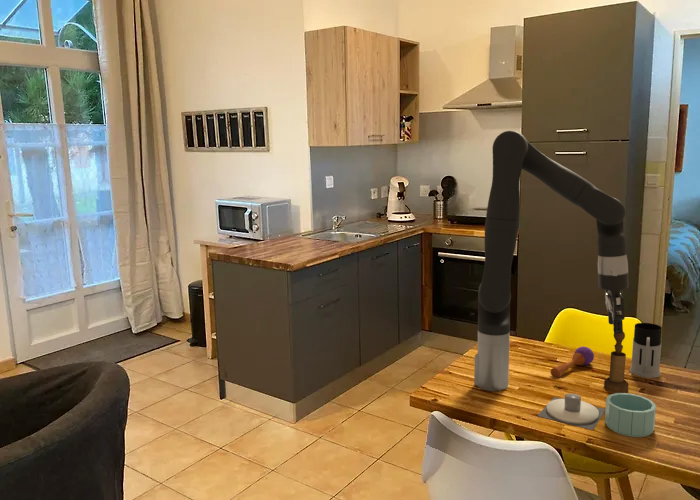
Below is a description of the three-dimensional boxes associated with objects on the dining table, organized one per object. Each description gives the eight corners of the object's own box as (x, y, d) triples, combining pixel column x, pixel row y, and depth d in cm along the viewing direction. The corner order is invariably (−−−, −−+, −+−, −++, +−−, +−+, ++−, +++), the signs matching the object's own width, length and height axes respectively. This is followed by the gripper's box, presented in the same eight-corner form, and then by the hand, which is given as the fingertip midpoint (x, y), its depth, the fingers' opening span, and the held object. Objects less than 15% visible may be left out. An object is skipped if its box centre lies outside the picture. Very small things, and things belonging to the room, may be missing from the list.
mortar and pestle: (630, 395, 165) (634, 334, 162) (606, 393, 166) (610, 333, 163) (624, 385, 172) (628, 327, 168) (601, 384, 173) (604, 326, 170)
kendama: (545, 363, 181) (578, 343, 193) (548, 381, 181) (581, 360, 193) (562, 364, 176) (595, 344, 188) (565, 383, 176) (598, 362, 188)
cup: (600, 431, 145) (602, 405, 144) (610, 414, 154) (612, 389, 153) (649, 443, 139) (651, 416, 137) (657, 425, 147) (658, 399, 146)
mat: (537, 417, 153) (537, 415, 153) (553, 398, 164) (554, 396, 164) (592, 431, 145) (592, 430, 145) (606, 410, 156) (606, 409, 156)
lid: (539, 415, 153) (540, 399, 152) (555, 398, 163) (555, 383, 162) (591, 428, 145) (592, 412, 145) (603, 409, 156) (604, 393, 155)
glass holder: (660, 369, 183) (663, 323, 180) (662, 386, 171) (665, 337, 168) (629, 365, 187) (632, 320, 184) (629, 381, 174) (632, 334, 172)
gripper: (594, 266, 165) (597, 321, 167) (601, 277, 151) (604, 336, 153) (623, 265, 163) (625, 320, 165) (633, 275, 149) (635, 336, 151)
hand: (615, 328), depth 159 cm, fingers open, 8 cm apart
